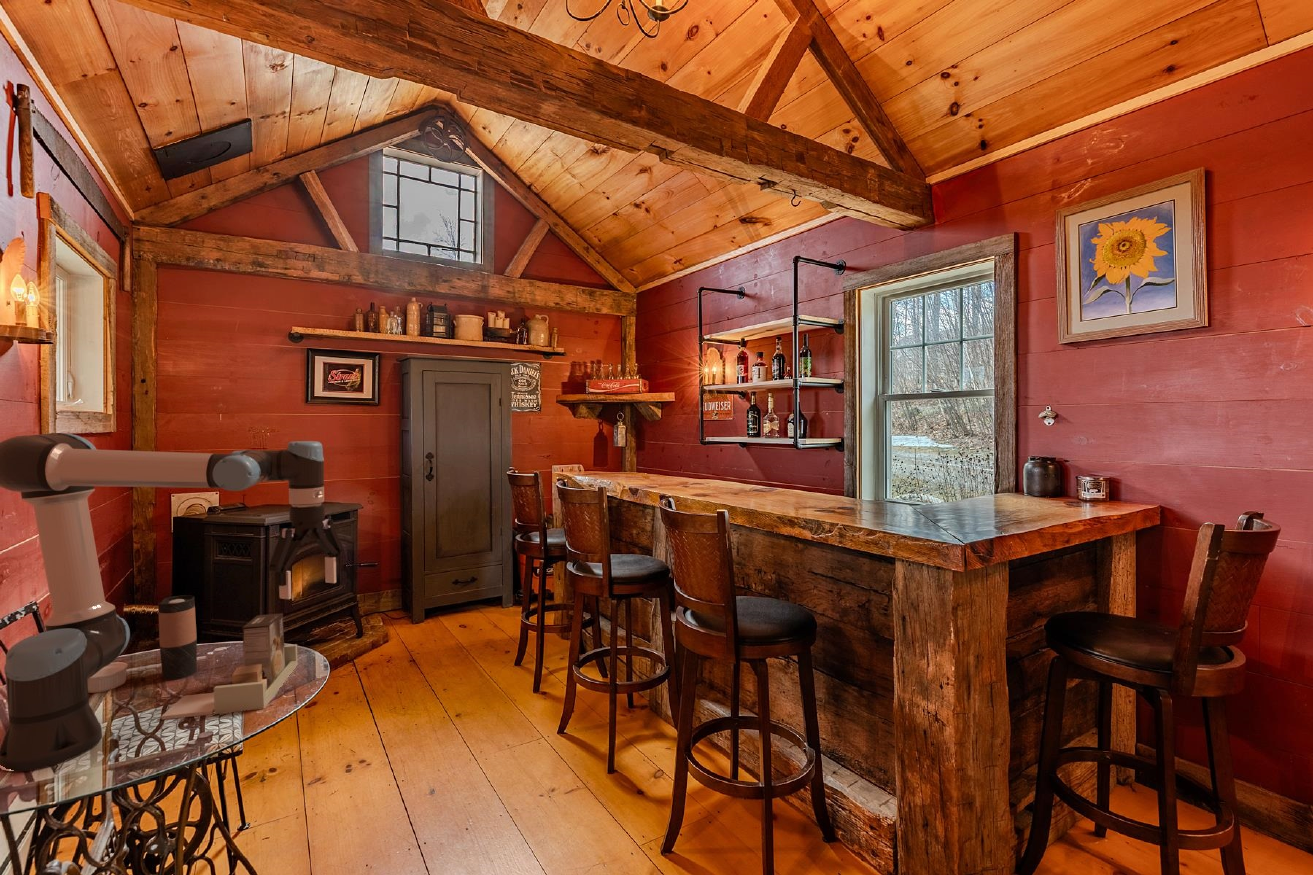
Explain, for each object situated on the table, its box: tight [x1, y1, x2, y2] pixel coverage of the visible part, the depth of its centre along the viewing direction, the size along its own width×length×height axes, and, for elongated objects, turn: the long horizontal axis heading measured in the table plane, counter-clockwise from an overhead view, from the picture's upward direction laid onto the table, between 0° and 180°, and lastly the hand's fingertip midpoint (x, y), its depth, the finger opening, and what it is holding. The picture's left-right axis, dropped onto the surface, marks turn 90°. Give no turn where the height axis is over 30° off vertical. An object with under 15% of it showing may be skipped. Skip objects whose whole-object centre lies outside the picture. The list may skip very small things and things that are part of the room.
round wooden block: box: [88, 661, 128, 694], centre depth 155 cm, size 9×9×4 cm
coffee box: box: [241, 613, 285, 689], centre depth 157 cm, size 9×6×16 cm
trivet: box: [160, 692, 215, 720], centre depth 144 cm, size 10×10×1 cm
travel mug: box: [157, 594, 198, 681], centre depth 161 cm, size 8×8×20 cm
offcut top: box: [231, 664, 262, 684], centre depth 146 cm, size 5×5×4 cm
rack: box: [213, 643, 299, 715], centre depth 153 cm, size 10×24×6 cm, turn 14°
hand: (309, 590), depth 151 cm, fingers open, 13 cm apart
